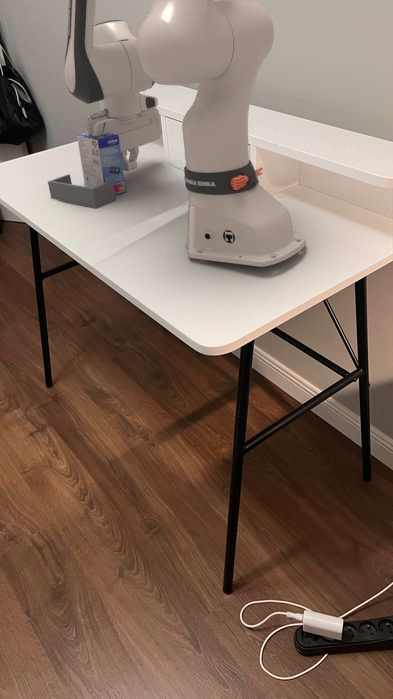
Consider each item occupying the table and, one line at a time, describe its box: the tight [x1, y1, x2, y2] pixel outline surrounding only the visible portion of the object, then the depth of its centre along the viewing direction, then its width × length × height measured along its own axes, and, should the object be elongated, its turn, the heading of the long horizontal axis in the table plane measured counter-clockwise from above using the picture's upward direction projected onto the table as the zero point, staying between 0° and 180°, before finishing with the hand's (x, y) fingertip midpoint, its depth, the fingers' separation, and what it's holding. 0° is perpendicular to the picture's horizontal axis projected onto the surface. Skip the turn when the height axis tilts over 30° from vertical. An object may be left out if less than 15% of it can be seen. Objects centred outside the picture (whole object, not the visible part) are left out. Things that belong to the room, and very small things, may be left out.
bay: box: [47, 173, 117, 209], centre depth 132 cm, size 14×6×4 cm, turn 50°
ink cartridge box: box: [76, 122, 127, 196], centre depth 134 cm, size 10×6×14 cm, turn 37°
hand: (130, 169), depth 142 cm, fingers closed
